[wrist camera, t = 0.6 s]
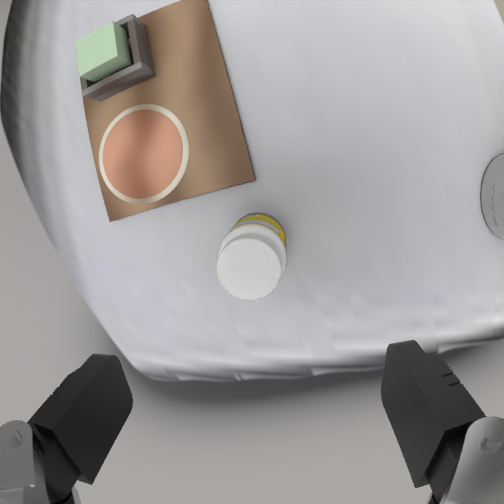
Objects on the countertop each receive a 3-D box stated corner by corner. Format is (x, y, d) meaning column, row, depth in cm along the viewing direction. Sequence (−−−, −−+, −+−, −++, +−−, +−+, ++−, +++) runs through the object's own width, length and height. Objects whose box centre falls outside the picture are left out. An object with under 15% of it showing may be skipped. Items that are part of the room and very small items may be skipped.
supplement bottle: (272, 273, 27) (267, 318, 19) (223, 252, 27) (199, 288, 19) (295, 225, 26) (300, 252, 18) (243, 203, 26) (226, 219, 18)
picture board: (206, -3, 21) (195, -23, 17) (255, 180, 25) (251, 182, 21) (82, 52, 23) (60, 42, 19) (115, 220, 27) (92, 228, 23)
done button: (125, 30, 19) (112, 20, 17) (131, 63, 20) (117, 55, 18) (90, 49, 20) (76, 41, 17) (94, 82, 21) (79, 76, 18)
